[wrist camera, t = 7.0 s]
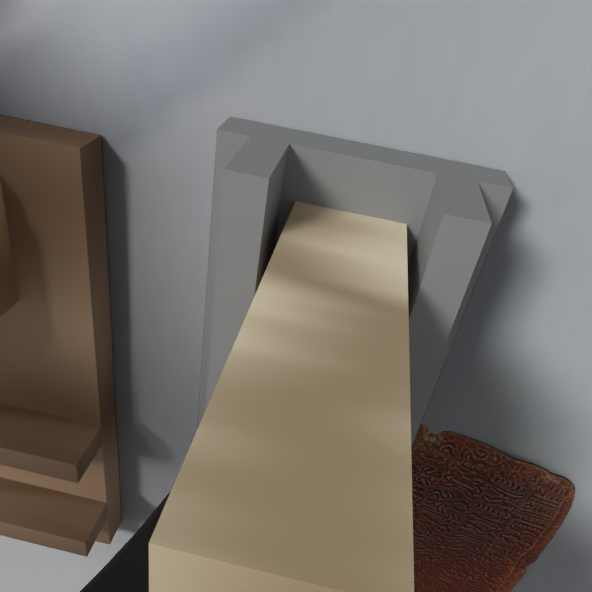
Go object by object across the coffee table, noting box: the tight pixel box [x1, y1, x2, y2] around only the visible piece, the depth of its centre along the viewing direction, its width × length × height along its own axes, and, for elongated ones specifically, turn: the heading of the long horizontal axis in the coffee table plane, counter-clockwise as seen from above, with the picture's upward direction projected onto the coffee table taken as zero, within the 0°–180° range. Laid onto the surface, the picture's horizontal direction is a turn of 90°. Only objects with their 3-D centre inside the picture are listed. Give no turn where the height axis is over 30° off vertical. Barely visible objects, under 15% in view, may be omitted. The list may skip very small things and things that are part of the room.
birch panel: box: [149, 201, 414, 592], centre depth 11 cm, size 2×10×8 cm, turn 172°
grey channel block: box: [197, 117, 513, 446], centre depth 14 cm, size 12×6×3 cm, turn 172°
